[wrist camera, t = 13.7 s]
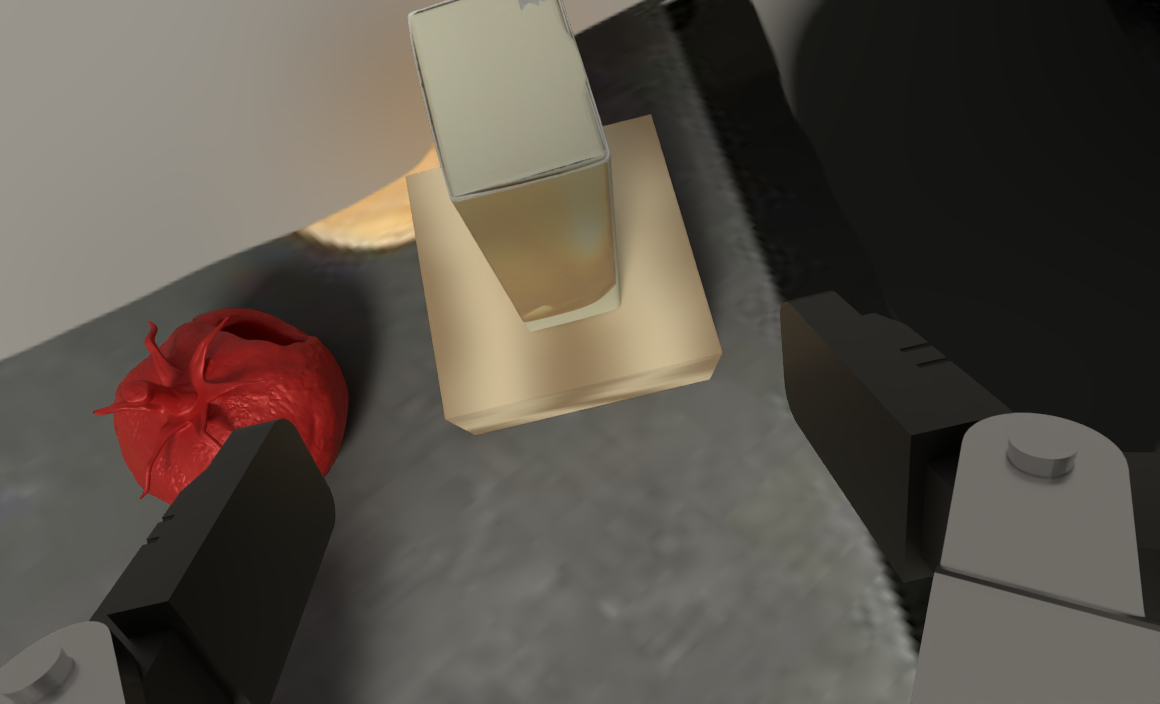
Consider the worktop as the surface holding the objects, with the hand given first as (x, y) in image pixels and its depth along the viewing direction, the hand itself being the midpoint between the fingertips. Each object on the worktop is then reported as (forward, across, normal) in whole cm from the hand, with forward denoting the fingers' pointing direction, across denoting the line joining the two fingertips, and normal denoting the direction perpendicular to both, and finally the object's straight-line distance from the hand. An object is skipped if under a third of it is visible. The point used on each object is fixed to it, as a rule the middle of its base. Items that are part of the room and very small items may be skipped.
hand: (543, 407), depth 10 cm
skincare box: (+18, 0, +4) cm, 19 cm away
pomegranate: (+20, +16, +10) cm, 27 cm away
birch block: (+22, 0, +8) cm, 23 cm away
